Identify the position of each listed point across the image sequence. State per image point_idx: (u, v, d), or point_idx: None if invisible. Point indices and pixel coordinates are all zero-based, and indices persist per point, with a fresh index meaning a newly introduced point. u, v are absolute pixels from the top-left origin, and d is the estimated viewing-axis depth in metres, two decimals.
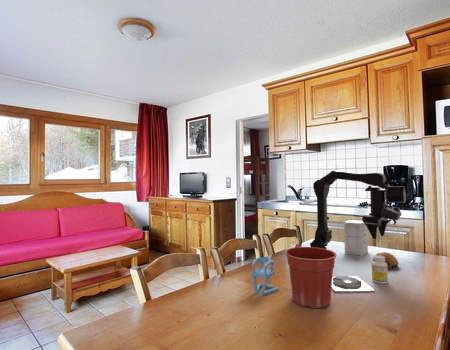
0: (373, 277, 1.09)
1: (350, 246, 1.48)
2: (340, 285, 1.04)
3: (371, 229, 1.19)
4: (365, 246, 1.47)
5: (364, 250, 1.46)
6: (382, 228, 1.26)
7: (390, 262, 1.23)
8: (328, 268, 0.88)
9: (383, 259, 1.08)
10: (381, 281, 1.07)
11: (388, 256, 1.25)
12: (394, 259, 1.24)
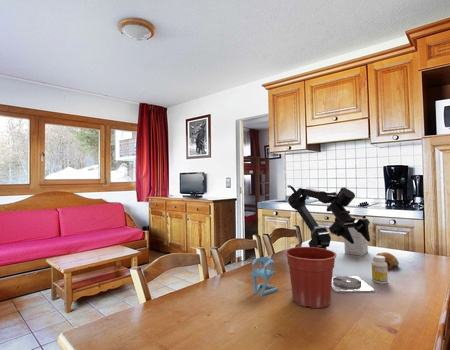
0: (373, 277, 1.09)
1: (350, 246, 1.48)
2: (340, 285, 1.04)
3: None
4: (365, 246, 1.47)
5: (364, 250, 1.46)
6: None
7: (390, 262, 1.23)
8: (328, 268, 0.88)
9: (383, 259, 1.08)
10: (381, 281, 1.07)
11: (388, 256, 1.25)
12: (394, 259, 1.24)
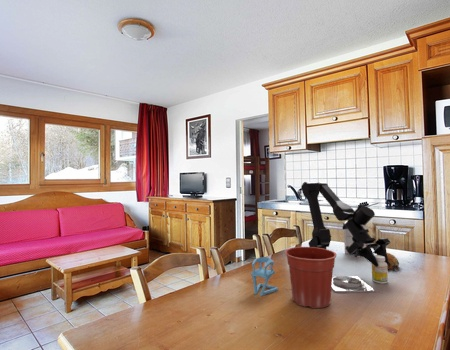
0: (373, 277, 1.09)
1: None
2: (340, 285, 1.04)
3: None
4: None
5: None
6: None
7: (391, 262, 1.22)
8: (328, 268, 0.88)
9: (383, 259, 1.08)
10: (381, 281, 1.07)
11: (389, 256, 1.24)
12: (395, 259, 1.24)
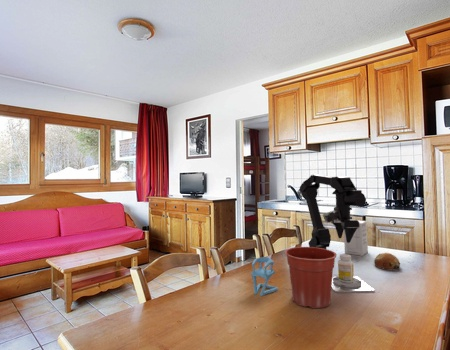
0: (338, 275, 1.08)
1: (350, 246, 1.48)
2: (340, 285, 1.04)
3: None
4: (365, 246, 1.47)
5: (364, 250, 1.46)
6: None
7: (392, 263, 1.22)
8: (328, 268, 0.88)
9: (347, 258, 1.05)
10: (343, 280, 1.05)
11: (390, 257, 1.24)
12: (396, 260, 1.23)
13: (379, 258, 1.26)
